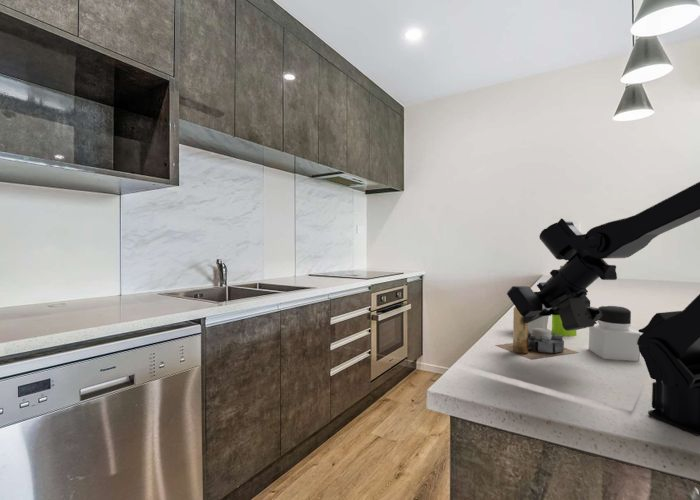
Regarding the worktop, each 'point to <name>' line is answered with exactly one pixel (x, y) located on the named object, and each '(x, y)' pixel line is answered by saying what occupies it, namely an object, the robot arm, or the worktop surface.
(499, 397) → the worktop surface
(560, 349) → the desk sculpture ornament
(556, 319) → the soap dispenser
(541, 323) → the dixie cup
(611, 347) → the medicine bottle
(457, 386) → the worktop surface
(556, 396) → the worktop surface
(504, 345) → the mount board
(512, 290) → the robot arm
